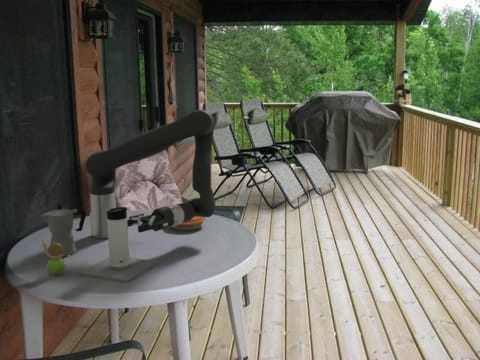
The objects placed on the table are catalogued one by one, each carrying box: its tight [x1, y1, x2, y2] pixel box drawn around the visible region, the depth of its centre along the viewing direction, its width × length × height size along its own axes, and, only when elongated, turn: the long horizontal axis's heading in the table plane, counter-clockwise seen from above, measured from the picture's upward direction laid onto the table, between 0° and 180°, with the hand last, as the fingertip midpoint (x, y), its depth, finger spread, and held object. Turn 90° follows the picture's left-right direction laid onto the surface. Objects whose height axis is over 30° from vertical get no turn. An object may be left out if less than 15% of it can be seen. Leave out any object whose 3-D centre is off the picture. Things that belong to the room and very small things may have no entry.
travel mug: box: [107, 206, 130, 270], centre depth 175 cm, size 6×7×20 cm
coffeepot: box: [39, 203, 87, 257], centre depth 192 cm, size 15×9×18 cm, turn 115°
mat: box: [79, 256, 159, 283], centre depth 177 cm, size 18×18×1 cm
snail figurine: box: [41, 237, 66, 276], centre depth 172 cm, size 5×6×12 cm
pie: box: [172, 217, 206, 232], centre depth 223 cm, size 15×16×5 cm
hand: (130, 227), depth 178 cm, fingers open, 8 cm apart
